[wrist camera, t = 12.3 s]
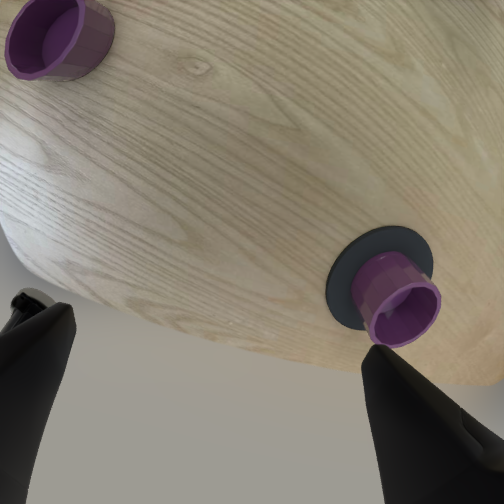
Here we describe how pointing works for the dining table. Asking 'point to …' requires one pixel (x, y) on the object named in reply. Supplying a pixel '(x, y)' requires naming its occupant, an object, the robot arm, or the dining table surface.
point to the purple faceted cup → (58, 39)
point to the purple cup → (394, 299)
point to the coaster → (360, 254)
